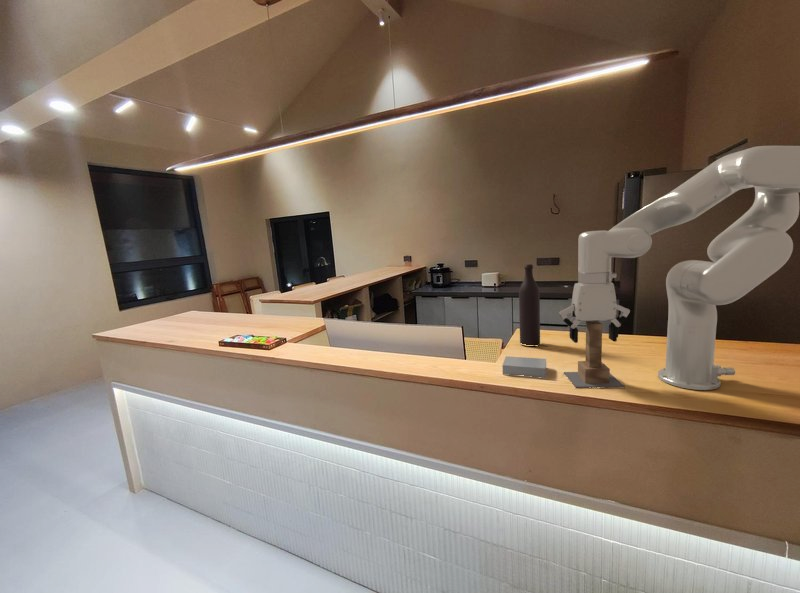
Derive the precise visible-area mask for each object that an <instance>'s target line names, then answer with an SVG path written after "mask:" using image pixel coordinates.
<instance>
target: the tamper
mask: <svg viewBox="0 0 800 593" xmlns="http://www.w3.org/2000/svg"><path fill="white" fill-rule="evenodd" d="M602 344H603V323H602V322H601V321H585V360H579V361H577V372H578V375H579V376H580V378H581V379H582V380H583V381H584V382H585V383H609V382H610V373H611V372H610V370H611V369H610V368H609V367H608V366H607V365H606V364H605V363H604V362H603V361H602V358H603V357H602V355H603V354H602V352H603V351H602V350H603V348H602V347H603V345H602Z"/></svg>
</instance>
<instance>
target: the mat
mask: <svg viewBox="0 0 800 593" xmlns="http://www.w3.org/2000/svg"><path fill="white" fill-rule="evenodd" d="M563 374H564V375H565V377H566V378H567V377H568V378H567V379H568V380H569V382H572V383H571V384H572V386H574V388H575V387H576V388H575V389H593V388H592V387H596V388H595V389H598V388H597V387H625V388H626V386H625V385H624V384H623V383H622V382H621V381H620V380H619V379H617V378H616V377H615V376H614V375H613V374H612V373H611V372H610V382H609V383H585V382H584V381H583V380H582V379H581V378H580V376H579V375H578V371H564V372H563ZM589 387H591V388H589Z"/></svg>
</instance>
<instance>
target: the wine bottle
mask: <svg viewBox="0 0 800 593" xmlns="http://www.w3.org/2000/svg"><path fill="white" fill-rule="evenodd" d="M533 269H534V265H533V264H531V263H527V264H525V265H524V271H525V272H524V278H523V281H522V283H521V284H520V286H519V291H518V300H519V301H518V305H519V306H518V308H519V309H518V310H519V343H522V344H526V345H538V344H541V316H540V315H541V305H540V304H541V303H540V301H541V299H540V296H541V295H540V289H539V286H538V283H537V282H536V280H535V277H534V275H533ZM538 346H539V345H538Z"/></svg>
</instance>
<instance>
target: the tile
mask: <svg viewBox="0 0 800 593" xmlns="http://www.w3.org/2000/svg"><path fill="white" fill-rule="evenodd" d="M503 374H509V375H508V376H513V375H524V376H523V377H525V376H532V377H531V378H536V377H541V378H540V379H546V378H547V358H539V357H538V358H537V357H527V356H526V357H524V356H509V355H508V356H507V355H505V357H504V360H503V362H502V375H503Z"/></svg>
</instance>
